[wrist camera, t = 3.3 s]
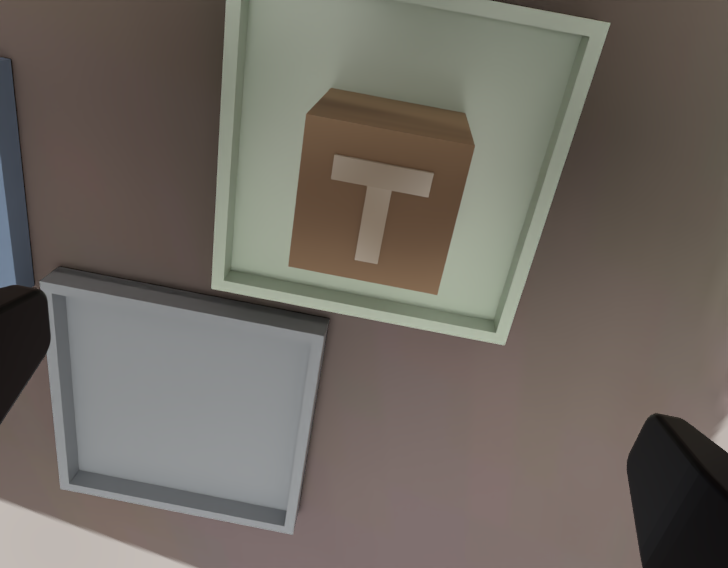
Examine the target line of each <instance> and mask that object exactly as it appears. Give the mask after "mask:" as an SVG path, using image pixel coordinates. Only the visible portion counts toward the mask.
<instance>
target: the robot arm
mask: <svg viewBox="0 0 728 568" xmlns="http://www.w3.org/2000/svg"><path fill="white" fill-rule="evenodd" d="M50 342H51V331H50V320H49V309H48V300H47V296H46V294H45V293H44V292H43V291H42V290H40V289H36V288H31V287H26V286H21V285H10V286H6V287H2V288H0V424H1V423H2V421H3V420H4V418H5V417H6V415H7V414H8V412H9V411H10V409H11V407H12V406H13V404H14V403H15V401H16V400H17V398H18V397H19V395H20V394H21V392H22V390H23V389H24V387H25V386H26V384H27V383H28V381H29V380H30V378H31V377H32V375H33V374H34V372H35V370H36V369H37V367H38V366H39V364H40V363H41V361H42V360H43V358H44V357H45V355H46V353H47V351H48V349H49V346H50ZM627 475H628V481H629V488H630V494H631V500H632V507H633V513H634V519H635V526H636V532H637V538H638V545H639V551H640V557H641V562H642V567H643V568H728V453H727V452H726V451H725V450H723V449H722V448H721V447H719V446H718V445H717V444H715V443H714V442H713V441H711V440H710V439H709V438H707V437H706V436H705V435H704V434H702V433H701V432H700V431H698V430H697V429H696V428H694V427H693V426H692V425H690V424H689V423H688V422H686V421H685V420H683V419H681V418H678V417H673V416H668V415H663V414H658V413H655V414H653V415H650V416H649V417H648V418H647V420H646V421H645V423H644V425H643V427H642V429H641V431H640V433H639V435H638V437H637V439H636V441H635V443H634V445H633V447H632V449H631V451H630V453H629V456H628V460H627Z"/></svg>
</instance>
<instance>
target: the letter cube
mask: <svg viewBox="0 0 728 568" xmlns="http://www.w3.org/2000/svg"><path fill="white" fill-rule="evenodd" d="M474 148H475V144H474V140H473V137H472V134H471V130H470V127H469V123H468V120H467V117H466V113H462V112H457V111H452V110H446V109H441V108H436V107H430V106H425V105H420V104H415V103H409V102H404V101H399V100H393V99H388V98H383V97H377V96H372V95H367V94H362V93H356V92H351V91H346V90H340V89H335V88H330V89H329V90H328V92H327V93H326V94H325V95H324V96H323V97H322V98H321V99H320V100H319V101H318V102H317V103H316V104H315V105H314V106H313V107H312V108H311V109H310V110H309V111H308V112H307V113H306V118H305V127H304V135H303V144H302V152H301V161H300V170H299V178H298V187H297V195H296V204H295V212H294V221H293V229H292V238H291V246H290V255H289V263H288V267H293V268H299V269H304V270H309V271H314V272H319V273H325V274H330V275H335V276H340V277H345V278H351V279H356V280H361V281H366V282H371V283H377V284H382V285H387V286H392V287H397V288H403V289H408V290H413V291H418V292H423V293H429V294H434V295H437V294H438V290H439V286H440V282H441V278H442V275H443V271H444V267H445V263H446V259H447V255H448V251H449V247H450V243H451V239H452V235H453V231H454V227H455V223H456V219H457V215H458V211H459V208H460V204H461V200H462V196H463V192H464V188H465V184H466V180H467V176H468V172H469V168H470V164H471V160H472V156H473V152H474Z"/></svg>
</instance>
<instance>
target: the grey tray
mask: <svg viewBox="0 0 728 568" xmlns="http://www.w3.org/2000/svg"><path fill="white" fill-rule="evenodd" d="M39 282H40V290H42V291H43V292H44V293H45V294H46V296H47V300H48V309H49V320H50V331H51V342H50V346H49V349H48V351H47V361H48V371H49V381H50V391H51V401H52V411H53V421H54V430H55V440H56V450H57V460H58V470H59V480H60V489H64V490H69V491H74V492H79V493H84V494H89V495H94V496H99V497H104V498H109V499H114V500H119V501H124V502H130V503H135V504H140V505H145V506H150V507H155V508H160V509H165V510H170V511H175V512H180V513H185V514H190V515H195V516H200V517H205V518H210V519H216V520H221V521H226V522H231V523H236V524H241V525H246V526H251V527H256V528H261V529H266V530H271V531H276V532H281V533H286V534H291V535H293V532H294V528H295V524H296V520H297V516H298V511H299V505H300V499H301V493H302V486H303V480H304V474H305V468H306V461H307V455H308V449H309V443H310V437H311V430H312V424H313V418H314V412H315V405H316V399H317V393H318V387H319V381H320V374H321V368H322V362H323V356H324V349H325V343H326V337H327V331H328V325H329V319H328V318H323V317H318V316H312V315H307V314H302V313H297V312H292V311H287V310H281V309H276V308H271V307H266V306H261V305H256V304H250V303H245V302H240V301H235V300H230V299H224V298H219V297H214V296H209V295H204V294H199V293H193V292H188V291H183V290H178V289H173V288H168V287H162V286H157V285H152V284H147V283H142V282H137V281H131V280H126V279H121V278H116V277H111V276H105V275H100V274H95V273H90V272H85V271H80V270H74V269H69V268H64V267H57V268H56V269H55V270H53V271H52V272H51V273H50V274H48V275H47V276H46V277H44V278H43V279H42V280H40V281H39Z"/></svg>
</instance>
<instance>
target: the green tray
mask: <svg viewBox="0 0 728 568" xmlns="http://www.w3.org/2000/svg"><path fill="white" fill-rule="evenodd" d="M609 26H610V23H608V22H603V21H598V20H593V19H587V18H582V17H577V16H571V15H566V14H561V13H555V12H550V11H544V10H539V9H534V8H528V7H523V6H518V5H512V4H507V3H502V2H496V1H491V0H226V11H225V31H224V50H223V70H222V89H221V109H220V128H219V147H218V167H217V186H216V206H215V225H214V245H213V264H212V284H211V289H215V290H220V291H225V292H230V293H236V294H241V295H246V296H251V297H256V298H261V299H267V300H272V301H277V302H282V303H287V304H292V305H298V306H303V307H308V308H313V309H318V310H324V311H329V312H334V313H339V314H344V315H349V316H355V317H360V318H365V319H370V320H375V321H381V322H386V323H391V324H396V325H401V326H406V327H412V328H417V329H422V330H427V331H432V332H437V333H443V334H448V335H453V336H458V337H463V338H469V339H474V340H479V341H484V342H489V343H494V344H500V345H505V343H506V340H507V337H508V334H509V331H510V328H511V324H512V321H513V318H514V315H515V312H516V309H517V306H518V303H519V300H520V297H521V294H522V291H523V288H524V285H525V282H526V279H527V276H528V273H529V270H530V267H531V264H532V261H533V258H534V255H535V251H536V248H537V245H538V242H539V239H540V236H541V233H542V230H543V227H544V224H545V221H546V218H547V215H548V212H549V209H550V206H551V203H552V200H553V197H554V194H555V191H556V188H557V185H558V182H559V178H560V175H561V172H562V169H563V166H564V163H565V160H566V157H567V154H568V151H569V148H570V145H571V142H572V139H573V136H574V133H575V130H576V127H577V124H578V121H579V118H580V115H581V112H582V109H583V105H584V102H585V99H586V96H587V93H588V90H589V87H590V84H591V81H592V78H593V75H594V72H595V69H596V66H597V63H598V60H599V57H600V54H601V51H602V48H603V45H604V42H605V39H606V36H607V32H608V29H609ZM330 88H335V89H340V90H346V91H351V92H356V93H362V94H367V95H372V96H377V97H383V98H388V99H393V100H399V101H404V102H409V103H415V104H420V105H425V106H430V107H436V108H441V109H446V110H452V111H457V112H462V113H466V117H467V120H468V123H469V127H470V130H471V134H472V137H473V140H474V144H475V148H474V152H473V156H472V160H471V164H470V168H469V172H468V176H467V180H466V184H465V188H464V192H463V196H462V200H461V204H460V208H459V211H458V215H457V219H456V223H455V227H454V231H453V235H452V239H451V243H450V247H449V251H448V255H447V259H446V263H445V267H444V271H443V275H442V278H441V282H440V286H439V290H438V294H437V295H434V294H429V293H423V292H418V291H413V290H408V289H403V288H397V287H392V286H387V285H382V284H377V283H371V282H366V281H361V280H356V279H351V278H345V277H340V276H335V275H330V274H325V273H319V272H314V271H309V270H304V269H299V268H293V267H288V263H289V255H290V246H291V238H292V229H293V221H294V212H295V204H296V195H297V187H298V178H299V170H300V161H301V152H302V144H303V135H304V127H305V118H306V113H307V112H308V111H309V110H310V109H311V108H312V107H313V106H314V105H315V104H316V103H317V102H318V101H319V100H320V99H321V98H322V97H323V96H324V95H325V94H326V93H327V92H328V90H329V89H330Z"/></svg>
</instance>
